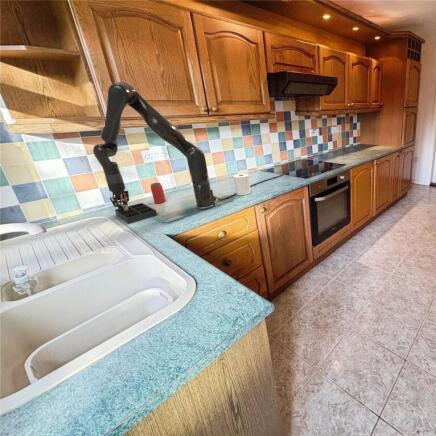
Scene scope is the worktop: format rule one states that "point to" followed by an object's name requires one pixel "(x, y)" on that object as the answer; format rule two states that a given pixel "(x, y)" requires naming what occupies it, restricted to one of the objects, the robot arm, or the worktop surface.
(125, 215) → the grid
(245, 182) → the toilet paper
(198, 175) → the robot arm
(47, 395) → the worktop surface
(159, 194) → the beer can
